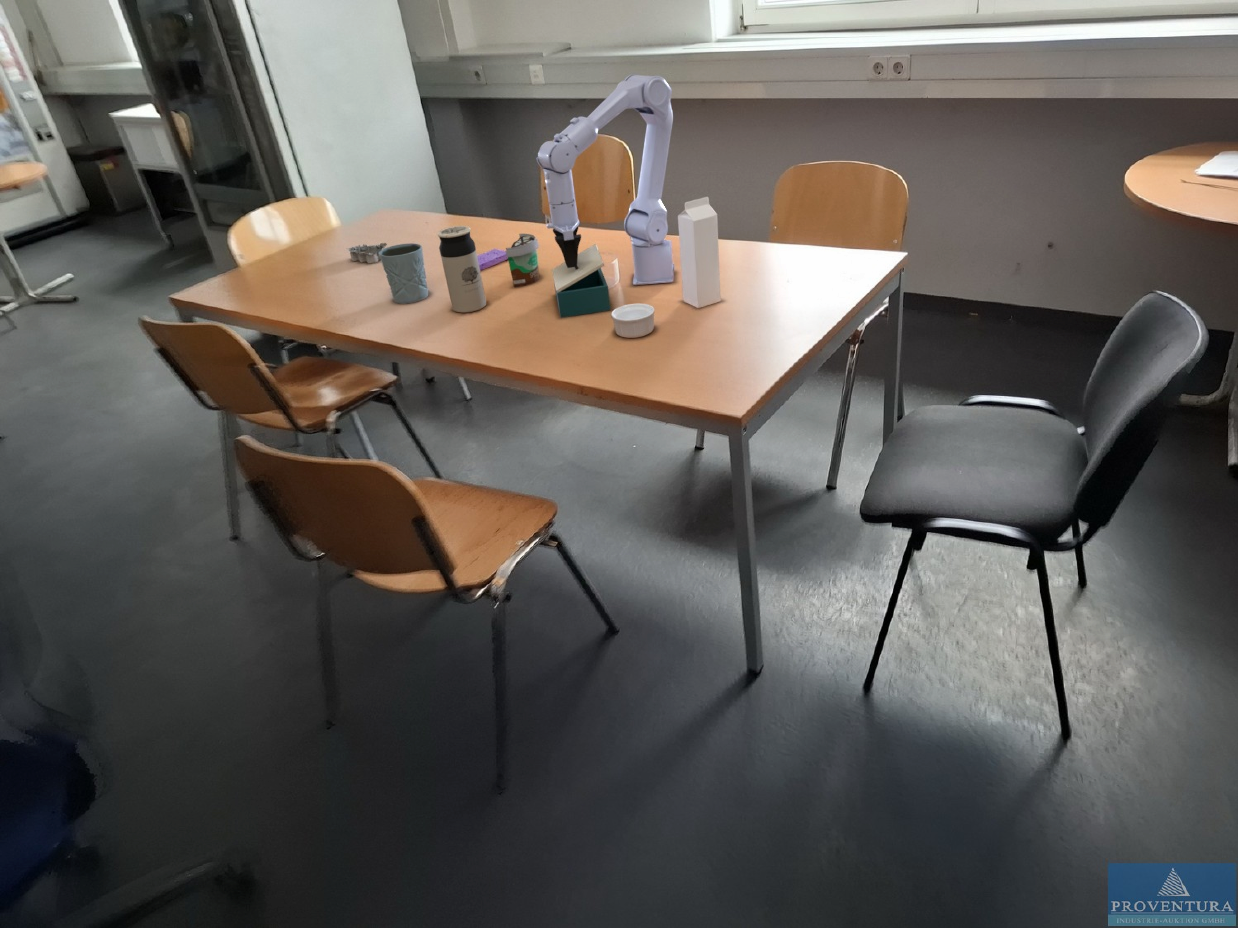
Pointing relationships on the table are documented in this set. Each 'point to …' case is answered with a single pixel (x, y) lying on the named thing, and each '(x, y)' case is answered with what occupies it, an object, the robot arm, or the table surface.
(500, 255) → the sponge
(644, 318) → the ramekin
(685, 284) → the milk
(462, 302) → the travel mug
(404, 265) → the blue embossed cup
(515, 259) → the food container
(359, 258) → the egg carton
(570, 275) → the lid
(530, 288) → the table surface
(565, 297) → the cool box
